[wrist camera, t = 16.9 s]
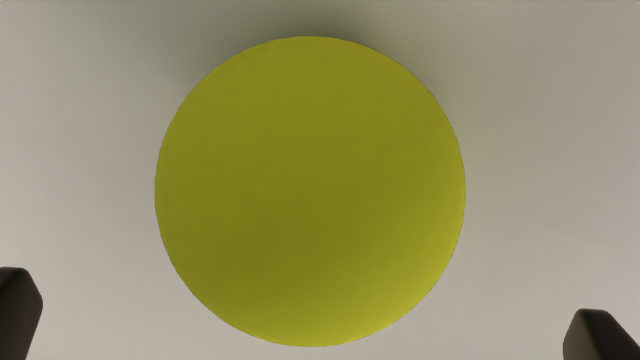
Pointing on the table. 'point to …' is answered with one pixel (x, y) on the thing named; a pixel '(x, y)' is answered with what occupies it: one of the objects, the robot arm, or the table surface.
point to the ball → (310, 191)
